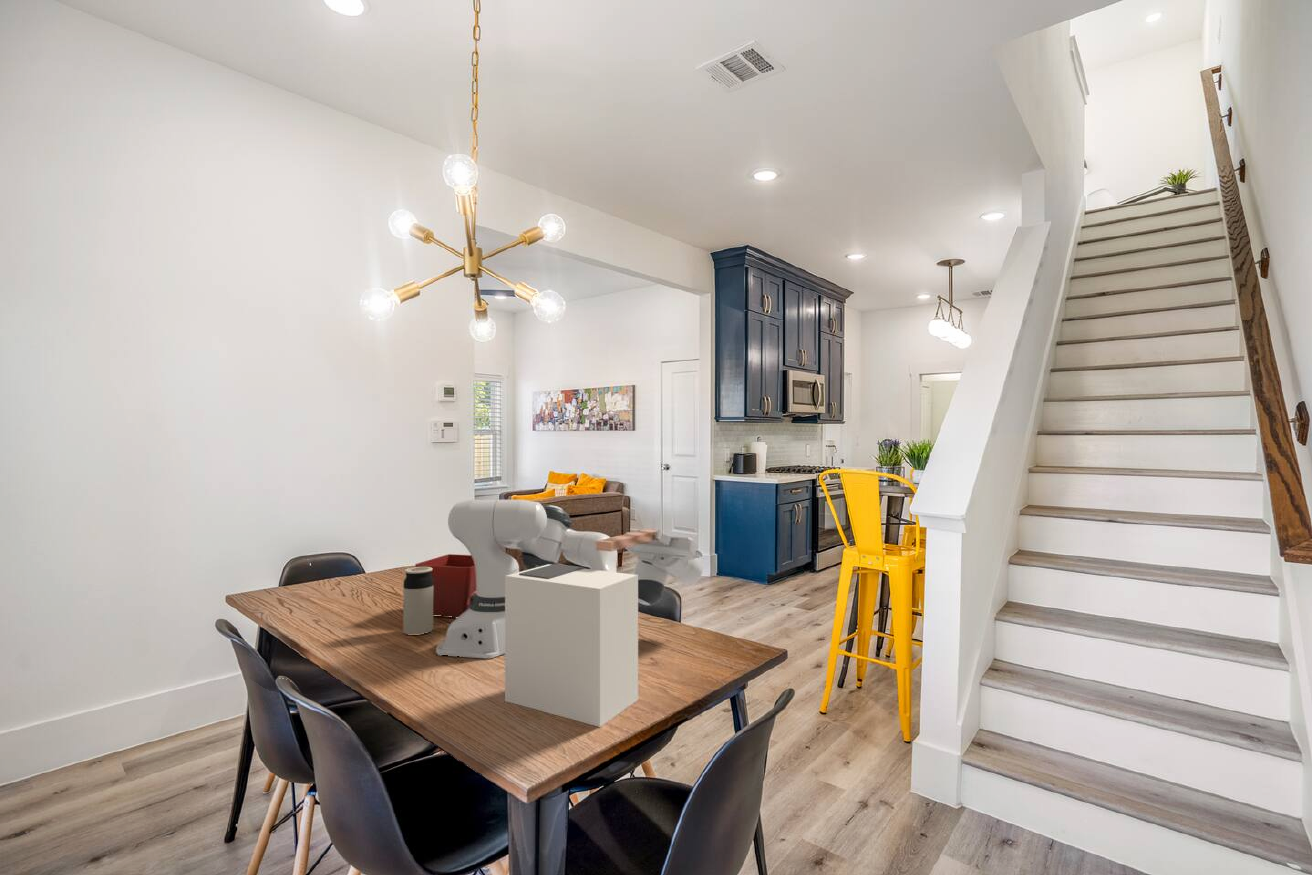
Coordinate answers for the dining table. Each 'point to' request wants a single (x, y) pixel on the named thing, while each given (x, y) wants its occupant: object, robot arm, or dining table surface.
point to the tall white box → (572, 641)
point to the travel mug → (418, 601)
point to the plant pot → (451, 583)
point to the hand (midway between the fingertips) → (646, 533)
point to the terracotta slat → (625, 540)
